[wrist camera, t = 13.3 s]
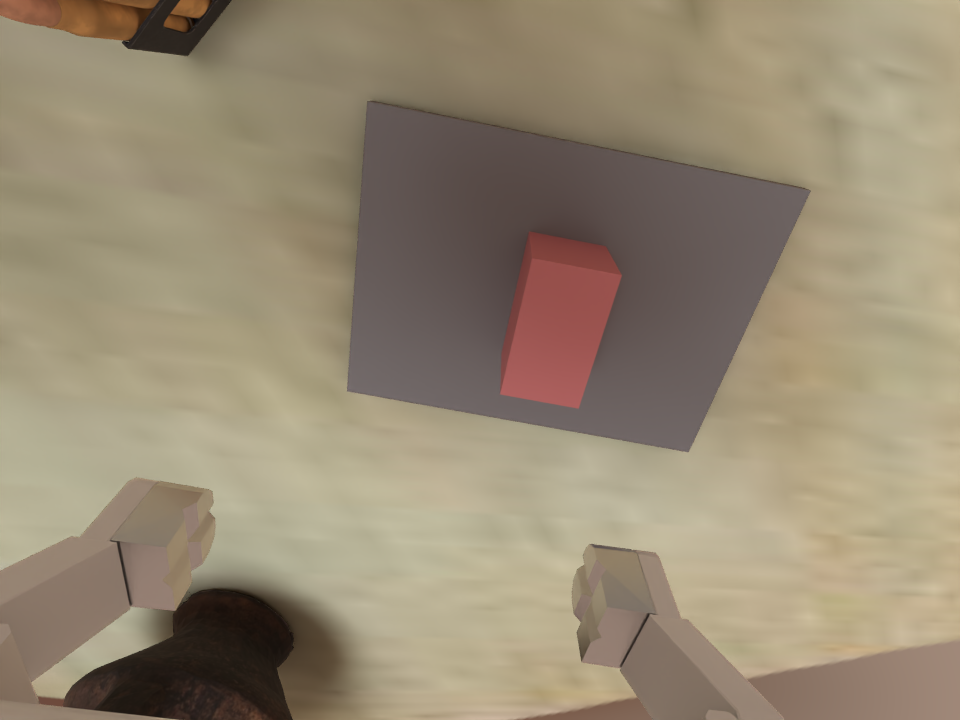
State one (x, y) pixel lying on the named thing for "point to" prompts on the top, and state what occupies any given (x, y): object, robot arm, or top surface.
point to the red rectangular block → (557, 319)
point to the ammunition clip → (124, 20)
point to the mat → (498, 258)
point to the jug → (199, 666)
